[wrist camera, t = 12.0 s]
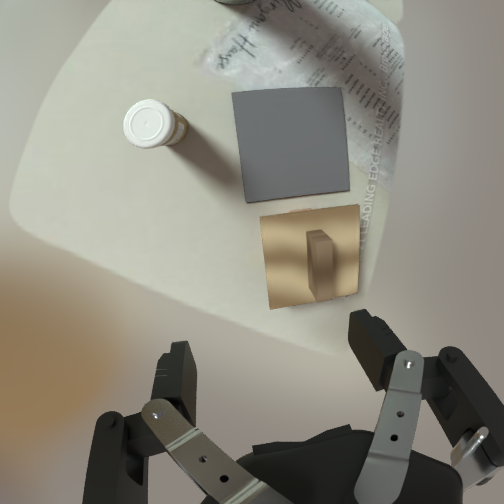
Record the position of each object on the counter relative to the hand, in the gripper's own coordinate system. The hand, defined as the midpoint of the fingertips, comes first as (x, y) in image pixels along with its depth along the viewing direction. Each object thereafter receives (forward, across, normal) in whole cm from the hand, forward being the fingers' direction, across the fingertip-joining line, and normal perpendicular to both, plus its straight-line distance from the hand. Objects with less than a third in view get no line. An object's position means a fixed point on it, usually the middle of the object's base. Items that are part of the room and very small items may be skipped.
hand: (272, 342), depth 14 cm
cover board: (+23, -9, +7) cm, 26 cm away
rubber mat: (+28, -9, -8) cm, 31 cm away
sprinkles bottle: (+28, +7, -12) cm, 32 cm away
